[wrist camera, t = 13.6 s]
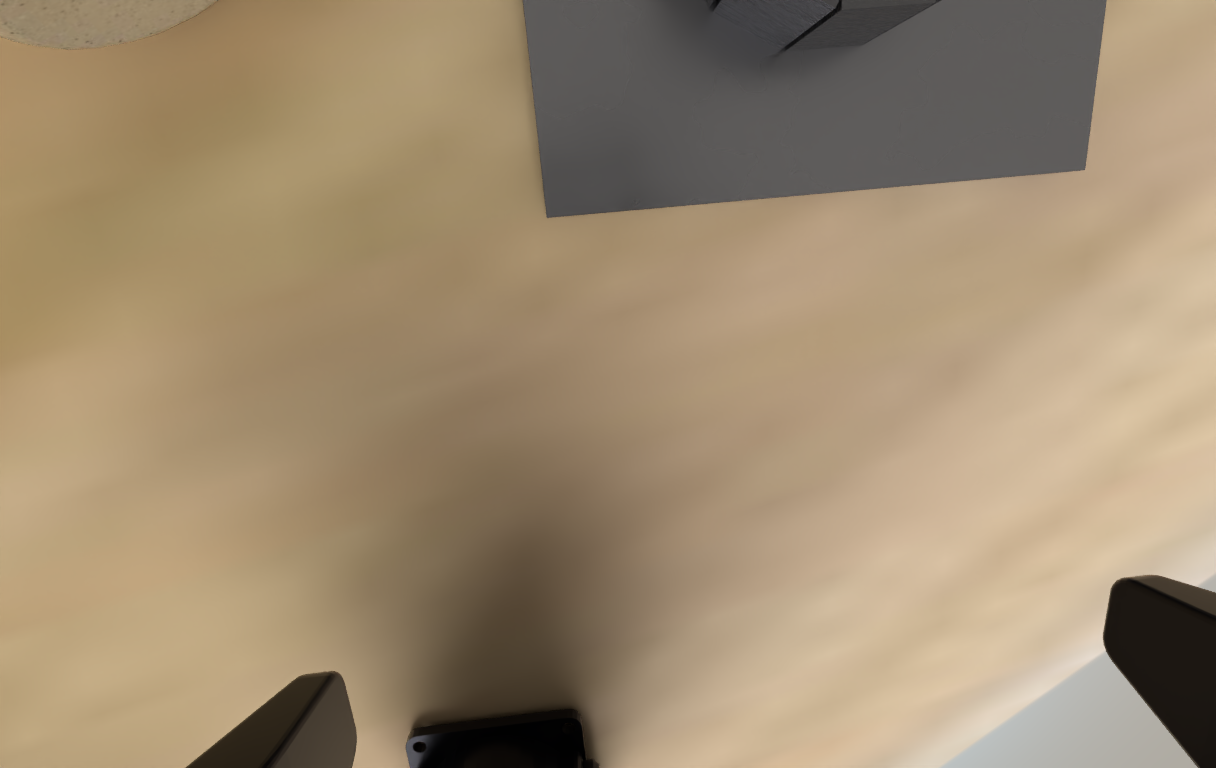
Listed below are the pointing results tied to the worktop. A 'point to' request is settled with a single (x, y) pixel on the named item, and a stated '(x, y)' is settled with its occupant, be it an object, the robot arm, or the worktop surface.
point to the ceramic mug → (91, 20)
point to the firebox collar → (803, 96)
